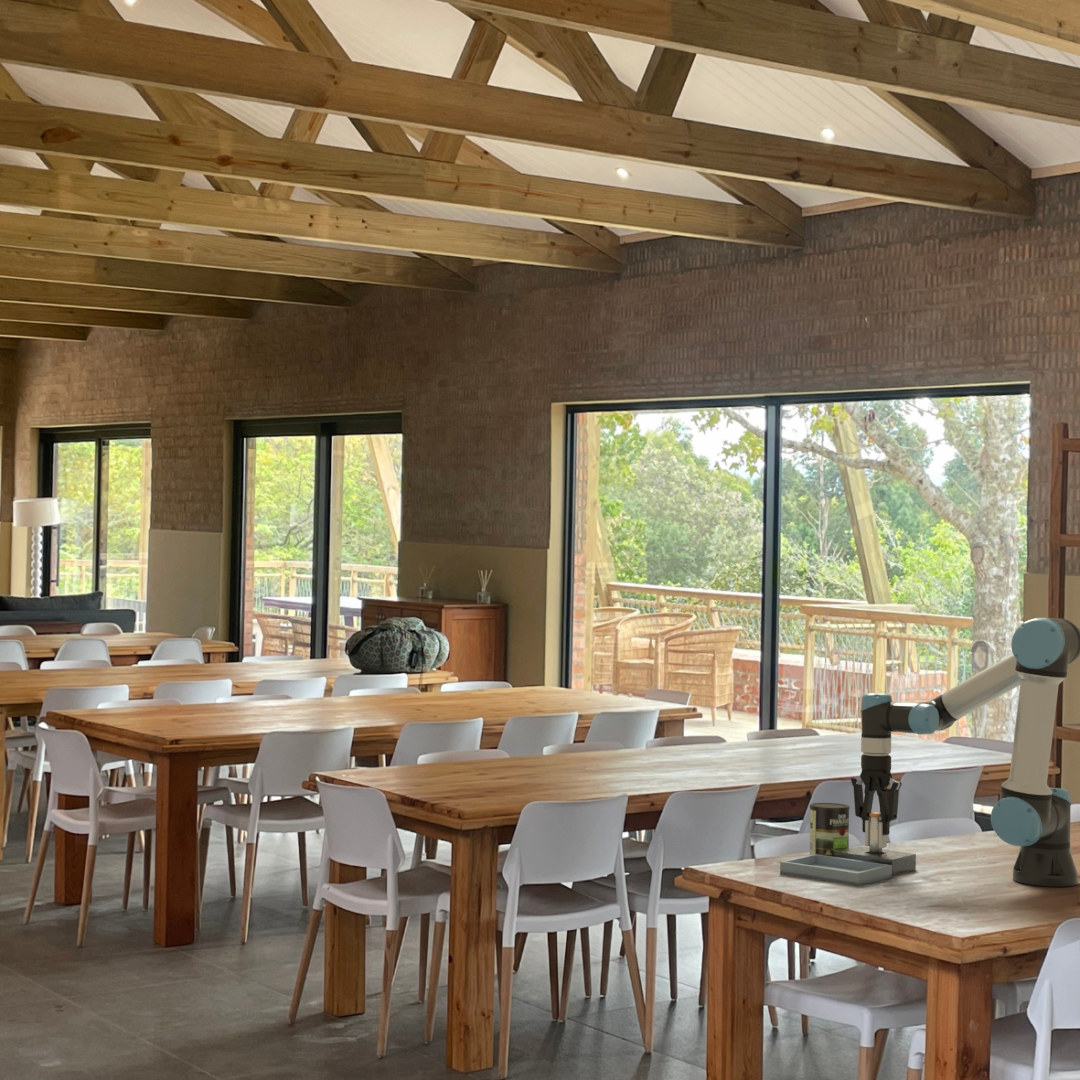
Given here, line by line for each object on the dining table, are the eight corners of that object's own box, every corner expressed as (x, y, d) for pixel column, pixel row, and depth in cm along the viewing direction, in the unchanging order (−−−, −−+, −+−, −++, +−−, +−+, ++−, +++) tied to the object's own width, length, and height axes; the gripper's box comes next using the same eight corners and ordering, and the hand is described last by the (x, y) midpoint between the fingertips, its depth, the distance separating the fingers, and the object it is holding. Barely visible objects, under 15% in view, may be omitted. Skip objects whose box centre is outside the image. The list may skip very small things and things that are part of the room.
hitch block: (915, 869, 377) (915, 853, 378) (892, 875, 369) (892, 859, 369) (859, 861, 388) (860, 846, 388) (835, 867, 379) (835, 851, 379)
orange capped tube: (884, 868, 378) (884, 813, 379) (878, 870, 376) (878, 814, 377) (873, 867, 381) (873, 811, 381) (866, 868, 378) (867, 813, 379)
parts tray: (891, 877, 366) (891, 865, 367) (858, 886, 355) (858, 873, 355) (814, 865, 381) (814, 854, 381) (780, 873, 369) (780, 861, 369)
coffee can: (857, 860, 390) (857, 806, 391) (827, 863, 385) (827, 808, 386) (830, 854, 399) (831, 801, 400) (801, 857, 394) (801, 803, 394)
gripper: (912, 755, 377) (911, 848, 376) (855, 750, 388) (855, 841, 387) (897, 757, 371) (897, 852, 370) (840, 752, 382) (840, 844, 381)
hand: (875, 846), depth 379 cm, fingers closed on orange capped tube, 3 cm apart
